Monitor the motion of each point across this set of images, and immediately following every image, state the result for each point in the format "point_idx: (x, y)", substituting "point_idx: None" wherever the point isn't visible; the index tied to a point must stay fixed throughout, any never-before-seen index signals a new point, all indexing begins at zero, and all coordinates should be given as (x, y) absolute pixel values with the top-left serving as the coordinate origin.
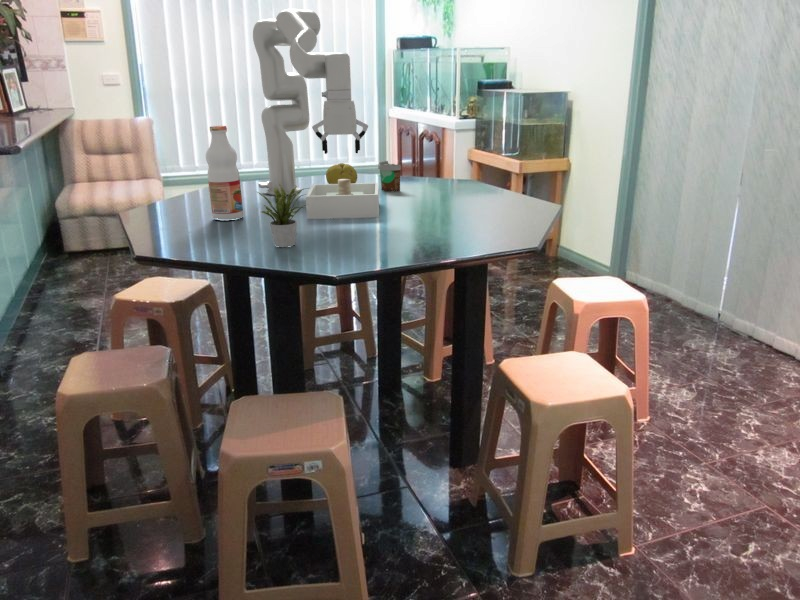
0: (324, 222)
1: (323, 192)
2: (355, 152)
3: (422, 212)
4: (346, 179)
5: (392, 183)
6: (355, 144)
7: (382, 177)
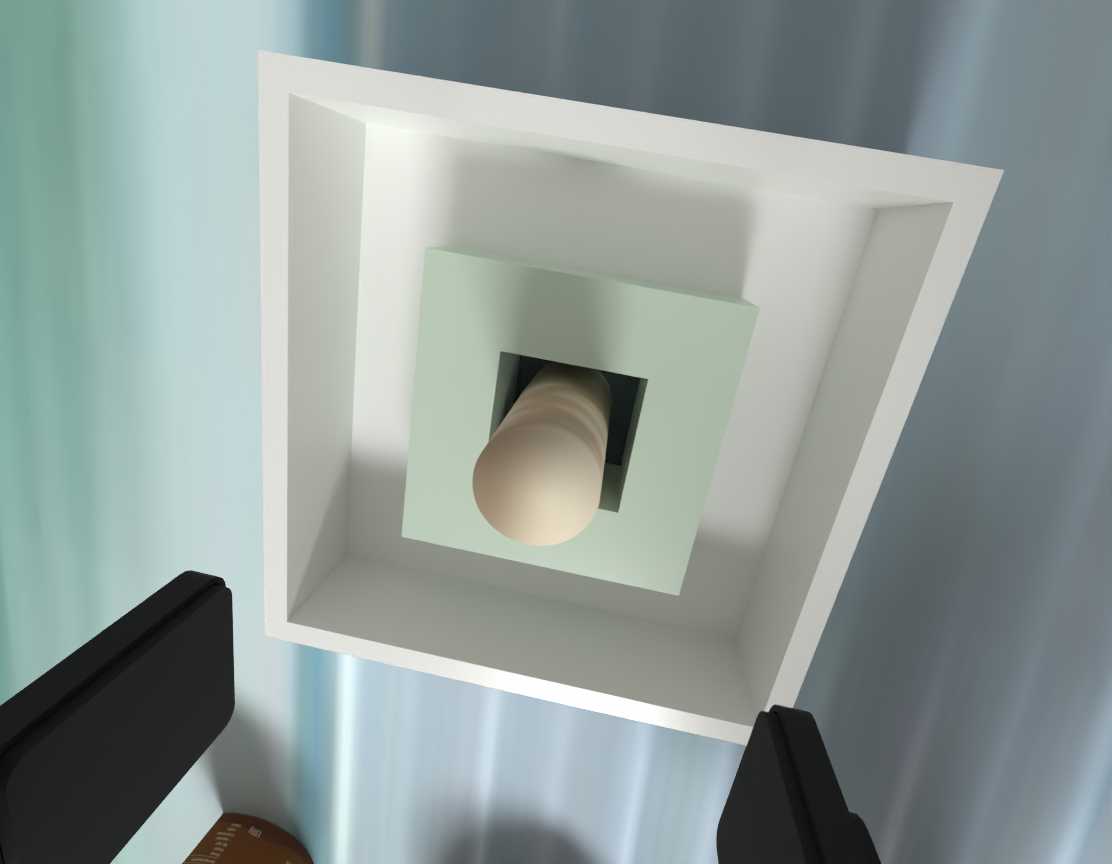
0: (788, 16)
1: (690, 669)
2: (224, 587)
3: (70, 186)
4: (508, 504)
5: (231, 861)
6: (86, 692)
7: None
